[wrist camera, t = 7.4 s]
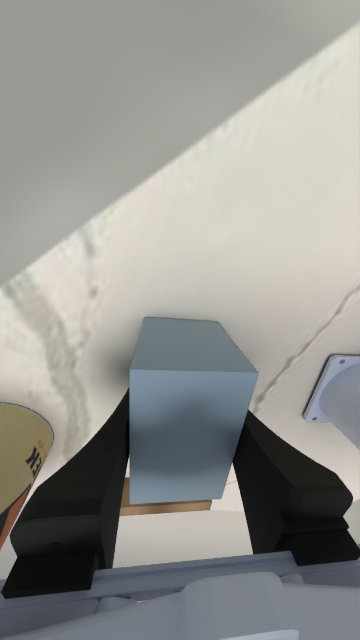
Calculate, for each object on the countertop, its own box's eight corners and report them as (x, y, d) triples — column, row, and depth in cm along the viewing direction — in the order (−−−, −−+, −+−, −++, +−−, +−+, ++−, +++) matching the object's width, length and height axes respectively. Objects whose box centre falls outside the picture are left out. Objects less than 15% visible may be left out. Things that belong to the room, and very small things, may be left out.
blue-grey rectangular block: (217, 321, 14) (258, 372, 8) (201, 413, 18) (221, 498, 12) (144, 317, 14) (129, 369, 7) (141, 413, 17) (129, 504, 11)
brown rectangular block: (206, 474, 21) (211, 502, 19) (204, 482, 22) (209, 510, 20) (121, 478, 20) (115, 508, 18) (121, 486, 21) (116, 516, 18)
